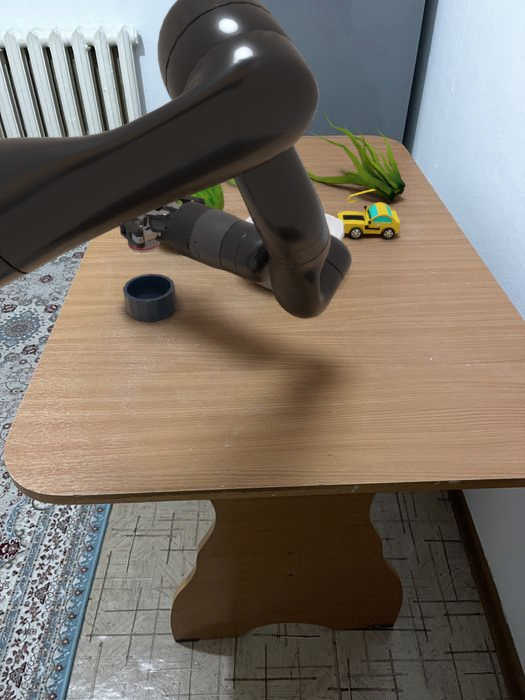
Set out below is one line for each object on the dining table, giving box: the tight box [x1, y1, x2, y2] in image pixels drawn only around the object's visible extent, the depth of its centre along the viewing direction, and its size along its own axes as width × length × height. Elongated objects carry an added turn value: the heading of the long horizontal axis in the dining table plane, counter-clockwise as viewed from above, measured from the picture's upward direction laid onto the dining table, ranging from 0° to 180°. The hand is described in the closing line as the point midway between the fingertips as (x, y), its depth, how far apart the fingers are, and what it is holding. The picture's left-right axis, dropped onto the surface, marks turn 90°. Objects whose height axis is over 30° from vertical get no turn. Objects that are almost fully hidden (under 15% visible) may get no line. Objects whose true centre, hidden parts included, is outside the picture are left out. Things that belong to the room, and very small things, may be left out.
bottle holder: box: [122, 273, 177, 323], centre depth 93 cm, size 8×8×4 cm
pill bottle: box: [127, 210, 160, 253], centre depth 84 cm, size 5×5×8 cm
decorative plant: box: [306, 110, 406, 203], centre depth 130 cm, size 18×30×15 cm, turn 23°
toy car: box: [336, 189, 401, 240], centre depth 113 cm, size 12×8×8 cm, turn 89°
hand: (126, 204), depth 85 cm, fingers closed on pill bottle, 4 cm apart
